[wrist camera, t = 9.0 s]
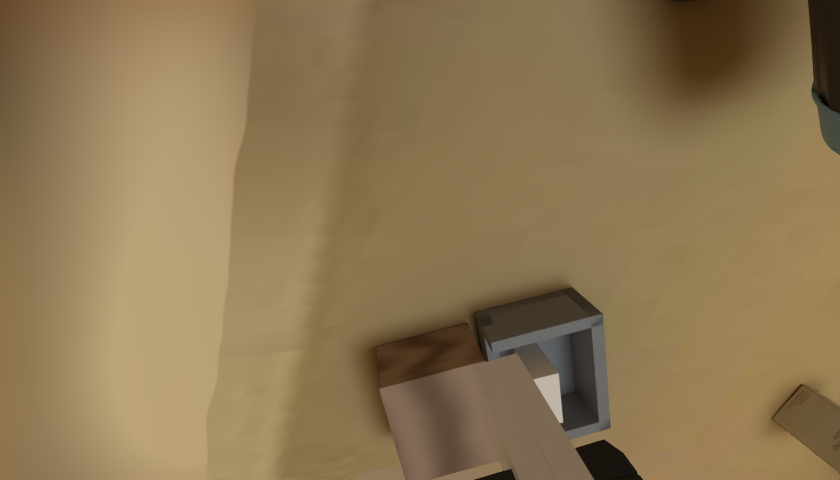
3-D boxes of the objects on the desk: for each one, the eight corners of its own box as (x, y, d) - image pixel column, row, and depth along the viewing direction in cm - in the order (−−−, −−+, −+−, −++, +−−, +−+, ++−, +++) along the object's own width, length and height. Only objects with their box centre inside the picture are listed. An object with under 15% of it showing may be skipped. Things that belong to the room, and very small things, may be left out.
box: (572, 287, 46) (602, 313, 40) (582, 391, 50) (610, 428, 44) (474, 312, 45) (491, 342, 39) (493, 415, 49) (511, 455, 44)
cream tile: (511, 345, 46) (534, 339, 46) (517, 389, 48) (539, 384, 48) (533, 379, 40) (558, 373, 40) (539, 428, 42) (563, 422, 42)
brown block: (467, 323, 45) (485, 360, 39) (484, 411, 49) (503, 459, 42) (376, 346, 45) (378, 388, 38) (400, 433, 48) (407, 485, 42)
